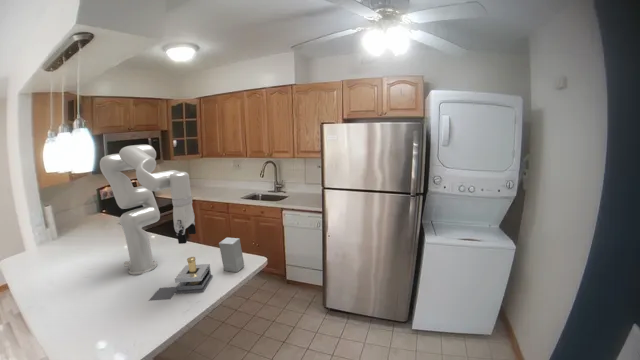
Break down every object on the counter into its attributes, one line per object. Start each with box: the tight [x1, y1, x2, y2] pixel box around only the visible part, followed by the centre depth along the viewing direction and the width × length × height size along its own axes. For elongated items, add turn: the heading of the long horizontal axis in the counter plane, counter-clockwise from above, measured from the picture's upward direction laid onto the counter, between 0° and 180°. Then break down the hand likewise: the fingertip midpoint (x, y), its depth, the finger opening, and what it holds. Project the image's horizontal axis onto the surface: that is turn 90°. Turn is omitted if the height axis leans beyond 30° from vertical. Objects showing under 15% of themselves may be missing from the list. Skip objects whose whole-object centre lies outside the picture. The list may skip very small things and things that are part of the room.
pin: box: [186, 256, 197, 282], centre depth 121 cm, size 3×3×12 cm
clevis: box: [174, 263, 214, 295], centre depth 122 cm, size 12×12×8 cm
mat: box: [148, 286, 177, 302], centre depth 118 cm, size 9×9×1 cm
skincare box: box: [218, 236, 245, 273], centre depth 135 cm, size 8×7×16 cm
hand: (187, 238), depth 118 cm, fingers open, 9 cm apart
